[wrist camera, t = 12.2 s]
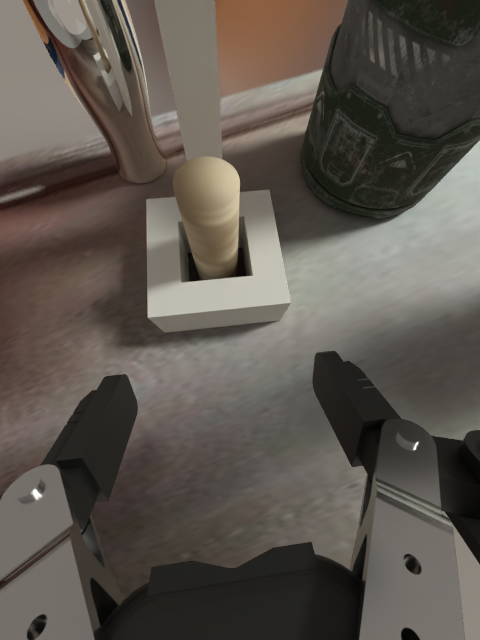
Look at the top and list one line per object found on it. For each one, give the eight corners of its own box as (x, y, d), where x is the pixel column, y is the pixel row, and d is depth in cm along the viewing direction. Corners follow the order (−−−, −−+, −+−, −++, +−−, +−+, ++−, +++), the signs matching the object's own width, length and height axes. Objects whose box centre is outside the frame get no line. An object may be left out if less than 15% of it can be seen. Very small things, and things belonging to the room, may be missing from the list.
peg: (231, 254, 27) (229, 150, 15) (241, 287, 26) (248, 201, 14) (195, 263, 26) (166, 163, 15) (204, 297, 25) (180, 216, 14)
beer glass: (105, 183, 29) (-19, -21, 15) (121, 140, 31) (25, -77, 17) (163, 190, 29) (94, -8, 15) (175, 146, 31) (125, -66, 17)
